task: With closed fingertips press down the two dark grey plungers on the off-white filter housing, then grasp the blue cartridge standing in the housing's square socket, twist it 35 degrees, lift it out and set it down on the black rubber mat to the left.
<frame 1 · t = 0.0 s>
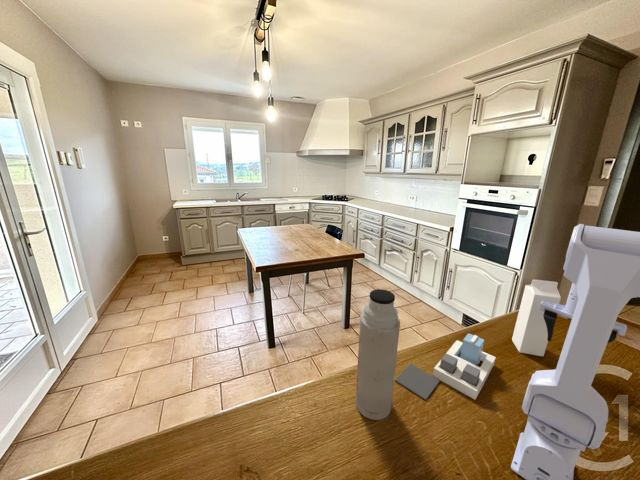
hand: (569, 346, 64), 10 cm above the table, fingers open, 7 cm apart
mat: (417, 381, 67), on the table
plunger near: (470, 375, 64), point 3 cm above the table, slide at 0.0 cm
housing: (464, 370, 70), on the table
plunger far: (448, 364, 68), point 3 cm above the table, slide at 0.0 cm
thermos bottle: (373, 404, 60), on the table
cartridge: (469, 362, 73), resting in housing
milk: (526, 348, 79), on the table
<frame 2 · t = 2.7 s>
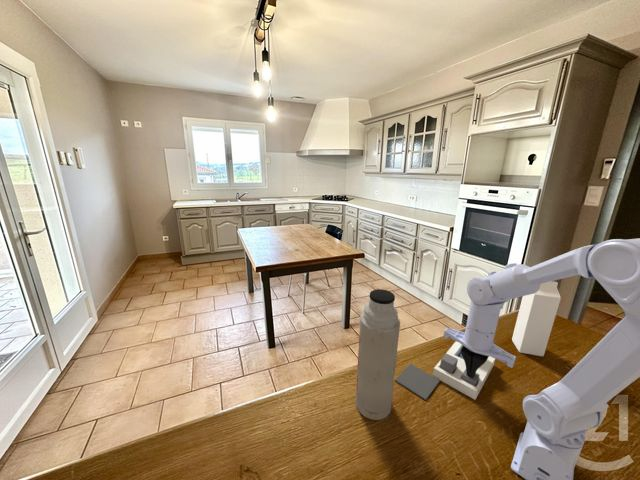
hand: (470, 374, 64), 4 cm above the table, fingers closed, pressing on plunger near
plunger near: (469, 380, 64), point 2 cm above the table, slide at 1.3 cm, touching gripper
everything else where it was.
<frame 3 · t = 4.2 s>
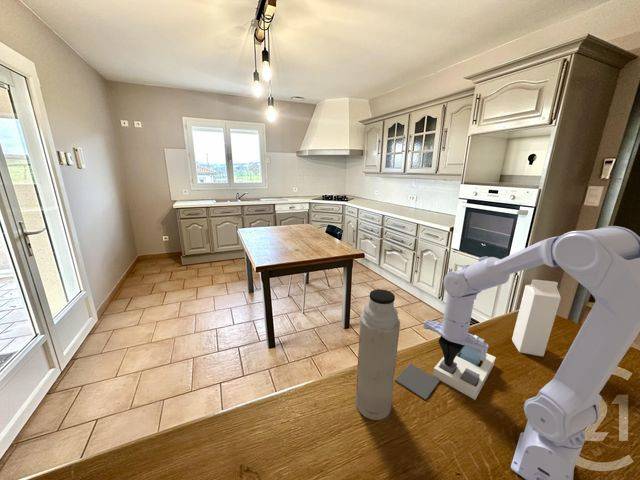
hand: (448, 363, 68), 4 cm above the table, fingers closed, pressing on plunger far
plunger near: (469, 380, 64), point 2 cm above the table, slide at 1.3 cm
plunger far: (447, 368, 68), point 2 cm above the table, slide at 1.3 cm, touching gripper
everything else where it was.
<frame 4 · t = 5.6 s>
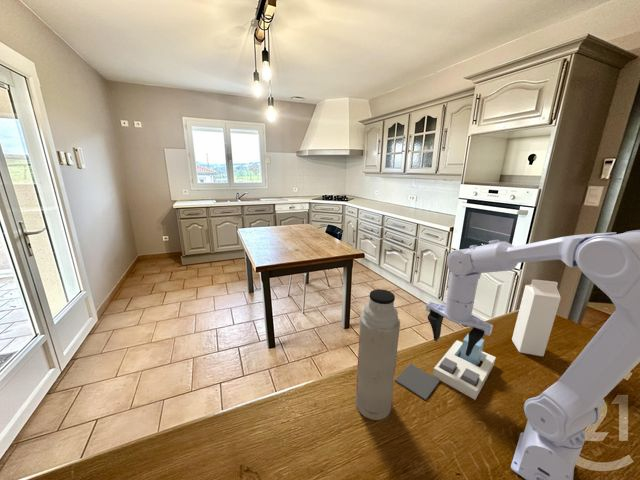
hand: (451, 346, 66), 9 cm above the table, fingers open, 7 cm apart
plunger far: (447, 368, 68), point 2 cm above the table, slide at 1.3 cm
everything else where it was.
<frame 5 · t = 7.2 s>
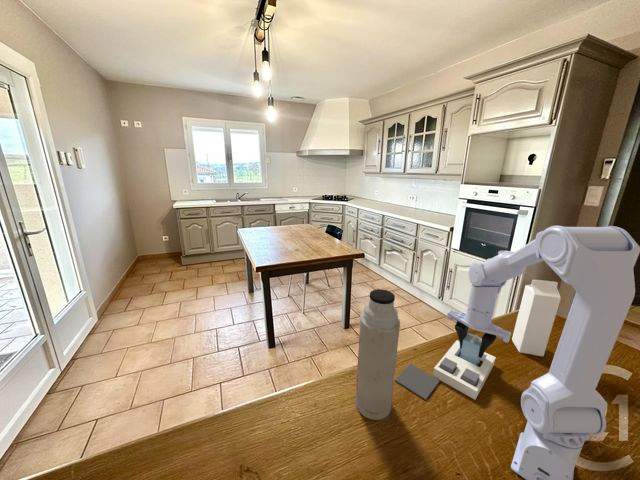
hand: (471, 351, 72), 4 cm above the table, fingers closed on cartridge, 4 cm apart
cartridge: (469, 362, 73), resting in housing, touching gripper
everything else where it was.
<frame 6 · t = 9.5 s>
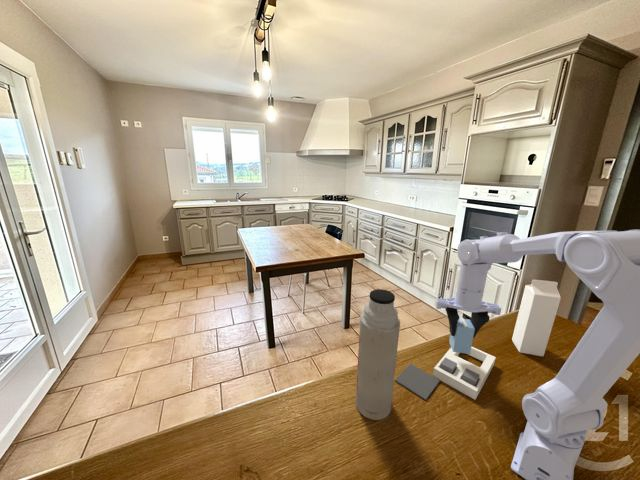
hand: (461, 334, 68), 10 cm above the table, fingers closed on cartridge, 4 cm apart
cartridge: (459, 347, 69), point 6 cm above the table, touching gripper
everything else where it was.
when the fingers open (5 cm above the table, at t = 11.6 s): cartridge stays where it is, resting on mat.
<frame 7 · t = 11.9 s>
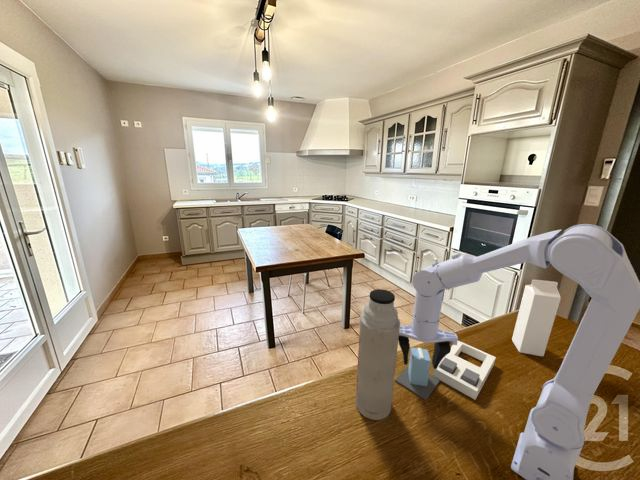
hand: (419, 363, 65), 5 cm above the table, fingers open, 6 cm apart
cartridge: (417, 378, 67), resting on mat
everything else where it was.
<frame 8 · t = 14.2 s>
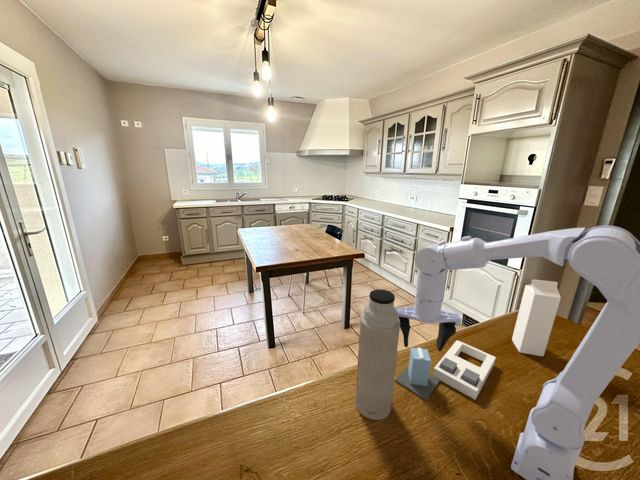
hand: (422, 346, 64), 10 cm above the table, fingers open, 7 cm apart
nothing on the table moved.
at the end: cartridge inside the target area on the mat (0.4 cm from its centre), point 0.4 cm above the mat's base; plunger near slide at 1.3 cm; plunger far slide at 1.3 cm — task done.
